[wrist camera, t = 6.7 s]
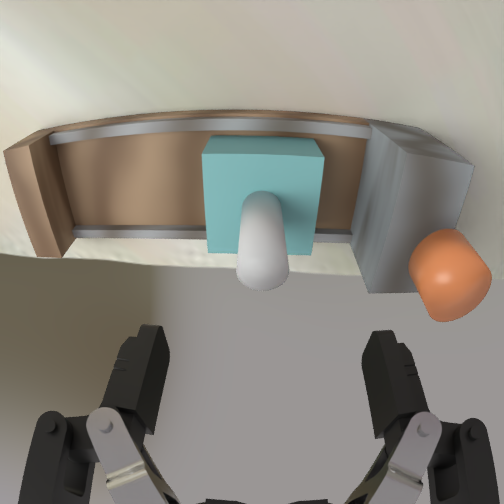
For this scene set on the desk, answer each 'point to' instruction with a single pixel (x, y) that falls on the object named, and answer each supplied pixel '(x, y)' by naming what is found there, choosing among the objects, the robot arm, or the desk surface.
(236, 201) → the carriage
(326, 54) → the desk surface
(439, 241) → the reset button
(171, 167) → the rail
